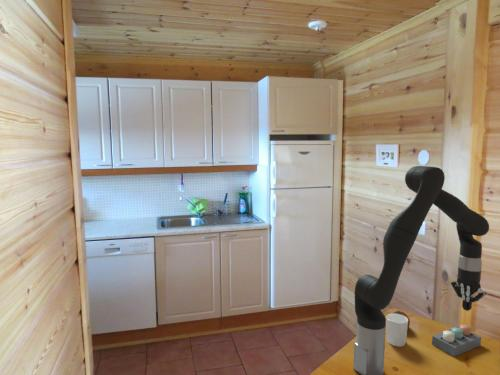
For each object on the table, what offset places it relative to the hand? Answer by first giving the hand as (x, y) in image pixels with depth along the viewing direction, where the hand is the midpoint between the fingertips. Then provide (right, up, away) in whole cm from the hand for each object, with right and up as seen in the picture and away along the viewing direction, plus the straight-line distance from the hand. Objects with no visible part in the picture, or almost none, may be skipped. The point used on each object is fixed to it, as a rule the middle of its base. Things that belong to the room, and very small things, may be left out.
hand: (466, 309), depth 137 cm
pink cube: (0, -11, +1) cm, 11 cm away
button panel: (-4, -13, 0) cm, 14 cm away
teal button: (-4, -11, -1) cm, 12 cm away
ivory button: (-9, -12, -3) cm, 15 cm away
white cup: (-27, -14, +2) cm, 30 cm away
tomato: (-21, -12, +12) cm, 27 cm away
